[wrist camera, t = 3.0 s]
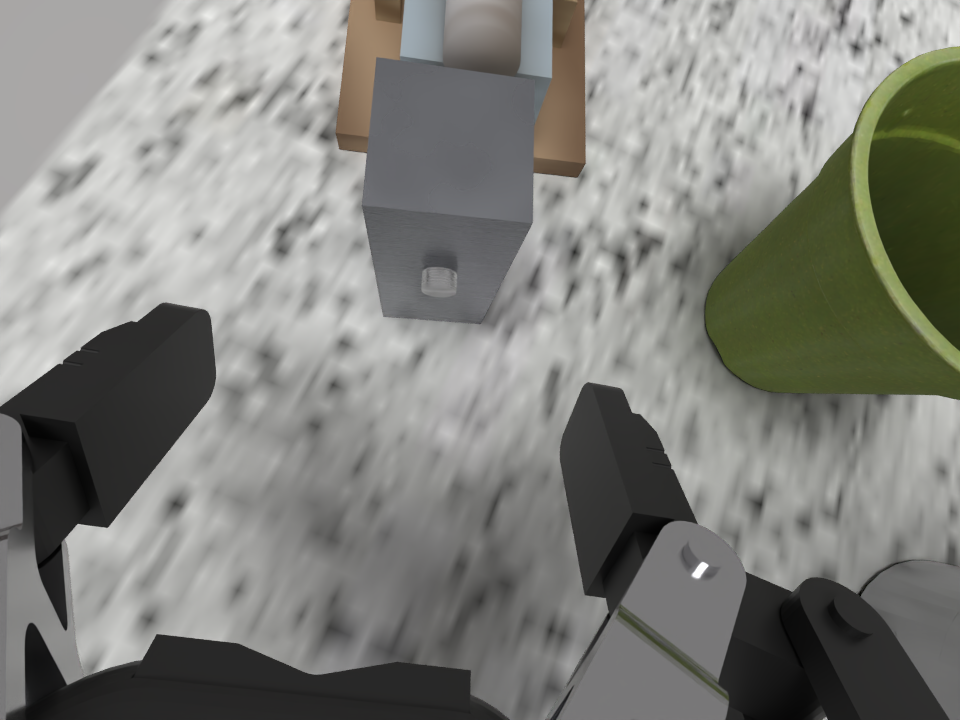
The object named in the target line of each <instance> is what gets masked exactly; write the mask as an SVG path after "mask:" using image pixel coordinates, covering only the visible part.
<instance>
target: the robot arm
mask: <svg viewBox="0 0 960 720" xmlns="http://www.w3.org/2000/svg"><path fill="white" fill-rule="evenodd" d="M215 380H216V366H215V356H214V346H213V335H212V325H211V318H210V315H209V313H208V312H207V311H206V310H203V309H198V308H193V307H187V306H182V305H177V304H171V303H162V304H160V305H158V306H157V307H156V308H155V309H153V310H152V311H151V312H149V313H148V314H147V315H146V316H144V317H143V318H142V319H140V320H139V321H138V322H132V321H130V322H127V323H125V324H122V325H119V326H117V327H114V328H112V329H109V330H106V331H104V332H101V333H100V334H99V335H97V336H96V337H95V338H93V339H92V340H91V341H89V342H88V343H86V344H85V345H84V346H82V347H81V350H80V351H76V352H74V353H73V354H71V355H70V356H69V357H67V358H66V359H65V360H63V364H58V365H57V366H55V367H54V368H52V369H51V370H50V371H48V372H47V373H46V374H44V375H43V376H42V377H40V378H39V379H37V380H36V381H35V382H33V383H32V384H31V385H29V386H28V387H27V388H25V389H24V390H22V391H21V392H20V393H18V394H17V395H16V396H14V397H13V398H12V399H10V400H9V401H8V402H6V403H5V404H3V405H2V406H1V407H0V720H510V719H509V718H507V717H506V716H505V715H504V714H502V713H501V712H500V711H499V710H497V709H496V708H494V707H493V706H491V705H489V704H488V703H486V702H484V701H483V700H481V699H479V698H477V697H474V696H472V695H470V677H471V670H462V669H453V668H445V667H436V666H427V665H419V664H410V663H401V662H395V663H389V664H383V665H377V666H371V667H365V668H358V669H352V670H346V671H340V672H334V673H328V674H322V675H312V674H308V673H305V672H302V671H300V670H298V669H296V668H293V667H291V666H289V665H286V664H284V663H282V662H279V661H277V660H275V659H272V658H270V657H268V656H266V655H263V654H261V653H259V652H256V651H254V650H252V649H249V648H247V647H245V646H242V645H240V644H237V643H229V642H220V641H211V640H203V639H194V638H185V637H177V636H168V635H160V634H157V635H156V637H155V639H154V640H153V642H152V644H151V646H150V647H149V649H148V651H147V653H146V655H145V656H144V658H143V660H140V661H134V662H130V663H126V664H123V665H119V666H115V667H111V668H108V669H105V670H103V671H100V672H97V673H94V674H92V675H89V676H86V677H84V674H83V670H82V667H81V663H80V659H79V655H78V650H77V644H76V635H75V624H74V612H73V600H72V589H71V577H70V566H69V554H68V547H67V543H66V541H65V538H66V537H67V536H68V534H69V533H70V532H71V531H72V530H73V529H74V527H75V526H76V525H77V524H83V525H90V526H98V527H105V528H108V527H109V526H110V524H111V523H112V522H113V521H114V519H115V518H116V517H117V515H118V514H119V513H120V512H121V510H122V509H123V508H124V507H125V505H126V504H127V503H128V502H129V500H130V499H131V498H132V496H133V495H134V494H135V493H136V491H137V490H138V489H139V488H140V486H141V485H142V484H143V483H144V481H145V480H146V479H147V478H148V476H149V475H150V474H151V472H152V471H153V470H154V469H155V467H156V466H157V465H158V464H159V462H160V461H161V460H162V459H163V457H164V456H165V455H166V453H167V452H168V451H169V450H170V448H171V447H172V446H173V445H174V443H175V442H176V441H177V440H178V438H179V437H180V436H181V435H182V433H183V432H184V431H185V429H186V428H187V427H188V426H189V424H190V423H191V422H192V421H193V419H194V418H195V417H196V416H197V414H198V413H199V412H200V410H201V409H202V408H203V407H204V405H205V404H206V403H207V401H208V400H209V398H210V397H211V394H212V392H213V389H214V386H215ZM664 451H665V450H664V448H663V446H662V443H661V441H660V439H659V437H658V434H657V432H656V431H655V430H654V429H653V428H652V427H651V426H650V425H649V423H648V422H647V421H646V420H645V419H644V418H643V417H642V416H641V415H640V414H634V413H632V412H631V409H630V407H629V404H628V402H627V399H626V397H625V394H624V392H623V390H622V389H620V388H616V387H611V386H606V385H600V384H595V383H589V382H588V383H586V384H585V385H584V386H583V388H582V390H581V392H580V394H579V397H578V399H577V402H576V404H575V407H574V409H573V412H572V414H571V416H570V419H569V421H568V424H567V426H566V429H565V431H564V434H563V437H562V441H561V446H560V463H561V468H562V474H563V479H564V485H565V490H566V496H567V501H568V506H569V512H570V517H571V523H572V528H573V534H574V539H575V545H576V550H577V555H578V561H579V566H580V572H581V577H582V583H583V588H584V594H585V595H588V596H595V597H602V598H606V601H607V606H608V610H609V612H608V613H607V615H606V616H605V618H604V619H603V621H602V623H601V624H600V626H599V628H598V630H597V631H596V633H595V635H594V637H593V638H592V640H591V642H590V644H589V645H588V647H587V649H586V651H585V652H584V654H583V656H582V658H581V659H580V661H579V663H578V665H577V666H576V668H575V670H574V672H573V673H572V675H571V677H570V679H569V680H568V682H567V684H566V686H565V687H564V689H563V691H562V693H561V694H560V696H559V698H558V699H557V701H556V703H555V705H554V706H553V708H552V709H551V711H550V713H549V714H548V716H547V718H546V719H545V720H822V719H823V718H825V717H826V716H827V719H828V720H960V567H959V566H954V565H949V564H944V563H939V562H934V561H920V560H912V561H908V562H904V563H900V564H896V565H894V566H892V567H890V568H889V569H887V570H885V571H883V572H881V573H880V574H879V575H878V576H877V577H876V578H875V579H874V580H873V581H872V582H871V583H870V584H868V585H867V587H866V589H865V590H864V592H863V593H862V595H861V596H858V595H857V594H856V593H854V592H853V591H851V590H849V589H848V588H846V587H844V586H842V585H840V584H839V583H836V582H834V581H831V580H828V579H824V578H817V577H816V578H809V579H806V580H805V581H804V582H802V583H801V584H800V585H799V586H798V587H797V588H796V589H795V590H794V592H791V591H789V590H786V589H784V588H782V587H779V586H777V585H775V584H772V583H770V582H768V581H765V580H763V579H761V578H758V577H756V576H754V575H752V574H749V573H747V572H745V570H744V567H743V565H742V563H741V561H740V559H739V557H738V556H737V554H736V553H735V552H734V550H733V549H732V548H731V547H730V546H729V545H728V544H727V543H726V542H725V541H724V540H723V539H722V538H720V537H719V536H718V535H716V534H715V533H714V532H712V531H710V530H709V529H707V528H705V527H703V526H700V525H698V523H697V521H696V519H695V517H694V514H693V512H692V510H691V508H690V506H689V503H688V501H687V499H686V497H685V494H684V492H683V490H682V488H681V486H680V483H679V481H678V479H677V477H676V474H675V472H674V470H673V469H671V463H670V461H669V459H668V457H667V454H664Z"/></svg>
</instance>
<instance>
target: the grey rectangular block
mask: <svg viewBox="0 0 960 720" xmlns="http://www.w3.org/2000/svg"><path fill="white" fill-rule="evenodd" d="M534 108H535V80H532V79H525V78H518V77H512V76H505V75H498V74H491V73H484V72H477V71H470V70H463V69H456V68H449V67H442V66H435V65H428V64H421V63H414V62H408V61H401V60H394V59H387V58H380V57H376V67H375V77H374V87H373V97H372V108H371V118H370V128H369V139H368V149H367V159H366V169H365V180H364V190H363V200H362V208H363V213H364V218H365V223H366V229H367V234H368V239H369V244H370V249H371V255H372V260H373V265H374V270H375V275H376V281H377V286H378V291H379V296H380V301H381V306H382V312H383V317H396V318H409V319H422V320H435V321H449V322H462V323H475V324H481V322H482V320H483V318H484V316H485V314H486V312H487V310H488V308H489V306H490V304H491V303H492V301H493V299H494V297H495V295H496V293H497V291H498V289H499V287H500V285H501V283H502V281H503V279H504V277H505V275H506V274H507V272H508V270H509V268H510V266H511V264H512V262H513V260H514V258H515V256H516V254H517V252H518V250H519V248H520V246H521V245H522V243H523V241H524V239H525V237H526V235H527V233H528V231H529V229H530V227H531V225H532V223H533V166H534Z"/></svg>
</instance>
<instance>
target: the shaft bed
mask: <svg viewBox="0 0 960 720" xmlns="http://www.w3.org/2000/svg"><path fill="white" fill-rule="evenodd" d="M376 57H380V58H387V59H394V60H401V61H408V62H414V63H421V64H428V65H435V66H442V67H449V68H456V69H463V70H470V71H477V72H484V73H491V74H498V75H505V76H512V77H518V78H525V79H532V80H535V108H534V166H533V172H537V173H545V174H553V175H562V176H570V177H578V175H579V174H580V172H581V170H582V169H583V167H584V165H585V164H586V160H585V20H584V0H351V3H350V11H349V20H348V29H347V38H346V47H345V55H344V64H343V73H342V82H341V91H340V100H339V108H338V117H337V126H336V136H337V141H338V145H339V149H343V150H351V151H360V152H367V149H368V139H369V128H370V118H371V108H372V97H373V87H374V77H375V67H376Z"/></svg>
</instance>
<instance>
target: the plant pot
mask: <svg viewBox="0 0 960 720" xmlns="http://www.w3.org/2000/svg"><path fill="white" fill-rule="evenodd" d="M705 322H706V327H707V331H708V335H709V337H710V338H711V339H712V341H713V342H714V344H715V346H716V347H717V349H718V351H719V353H720V355H721V358H722V360H723V362H724V364H725V365H726V366H727V368H728V369H729V370H731V371H732V372H733V373H734V374H735V375H736V376H738V377H739V378H740V379H742V380H743V381H745V382H746V383H748V384H750V385H752V386H754V387H756V388H759V389H762V390H766V391H770V392H778V393H817V394H896V395H939V396H944V397H948V398H952V399H957V400H960V46H959V47H949V48H944V49H940V50H934V51H931V52H928V53H925V54H922V55H920V56H918V57H916V58H914V59H912V60H910V61H908V62H907V63H905V64H903V65H902V66H900V67H899V68H897V69H896V70H895V71H893V72H892V73H891V74H890V75H889V76H888V77H886V78H885V79H884V81H883V82H882V83H881V84H880V85H879V86H878V87H877V88H876V89H875V90H874V92H873V93H872V94H871V96H870V97H869V99H868V100H867V102H866V103H865V105H864V107H863V109H862V111H861V113H860V115H859V117H858V120H857V122H856V125H855V128H854V131H853V133H852V134H851V135H850V136H849V137H848V138H847V139H846V140H845V141H844V143H843V144H842V145H841V146H840V147H839V148H838V149H837V150H836V151H835V152H834V153H833V154H832V156H831V157H830V158H829V159H828V160H827V162H826V163H825V165H824V166H823V168H822V169H821V171H820V173H819V176H818V177H817V178H816V179H815V180H814V181H813V182H812V183H811V184H810V185H809V186H808V187H807V188H806V189H805V190H804V191H802V192H801V193H800V194H799V195H798V196H797V197H796V198H795V199H794V200H793V201H792V202H791V203H790V204H789V205H788V206H787V207H786V208H785V209H784V210H783V211H782V212H781V213H780V214H779V215H778V216H777V217H776V218H775V219H774V220H773V221H772V222H771V223H770V224H769V225H768V226H767V227H766V228H765V229H764V230H763V231H762V232H761V233H760V234H759V235H758V236H757V237H756V238H755V239H754V240H753V241H752V242H751V243H750V244H749V245H748V246H747V247H746V248H745V249H744V250H743V251H742V252H741V253H739V254H738V255H737V256H736V257H735V258H734V259H733V260H732V261H731V262H730V263H729V265H728V266H727V267H726V268H725V269H724V270H723V271H722V272H721V273H720V274H719V275H718V276H717V278H716V279H715V281H714V282H713V284H712V286H711V288H710V290H709V293H708V296H707V300H706V307H705Z"/></svg>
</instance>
